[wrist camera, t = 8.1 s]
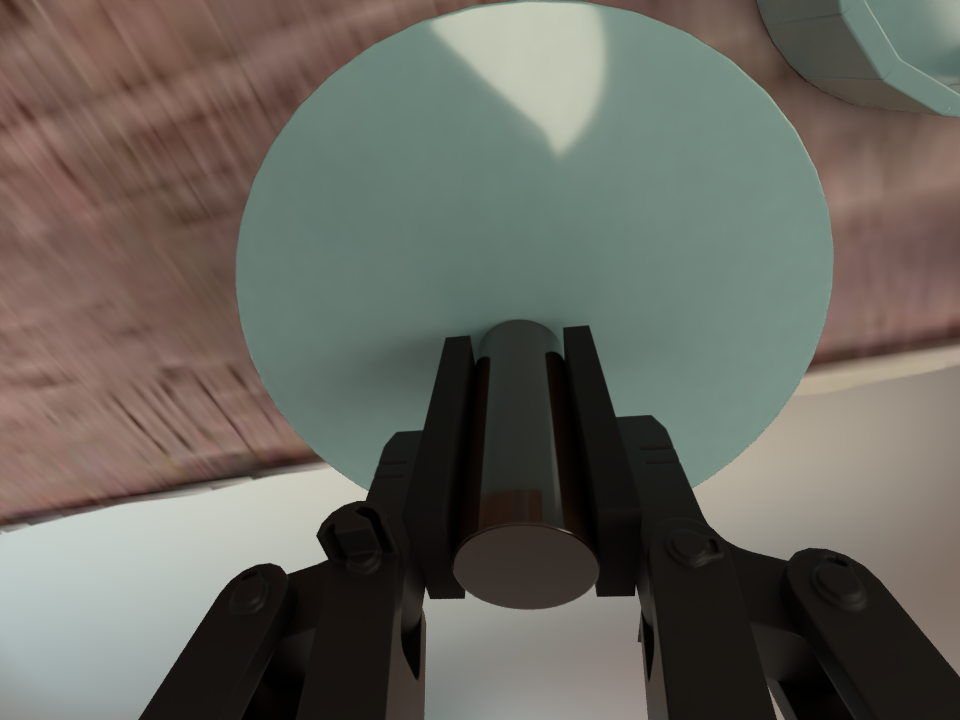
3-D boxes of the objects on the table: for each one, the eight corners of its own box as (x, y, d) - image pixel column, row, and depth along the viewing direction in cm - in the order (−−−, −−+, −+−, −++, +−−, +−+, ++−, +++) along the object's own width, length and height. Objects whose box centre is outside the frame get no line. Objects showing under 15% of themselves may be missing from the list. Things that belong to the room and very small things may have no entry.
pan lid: (447, 553, 23) (418, 778, 16) (133, 248, 15) (-230, 424, 7) (857, 419, 17) (1118, 687, 10) (708, -229, 9) (1698, -1703, 1)
